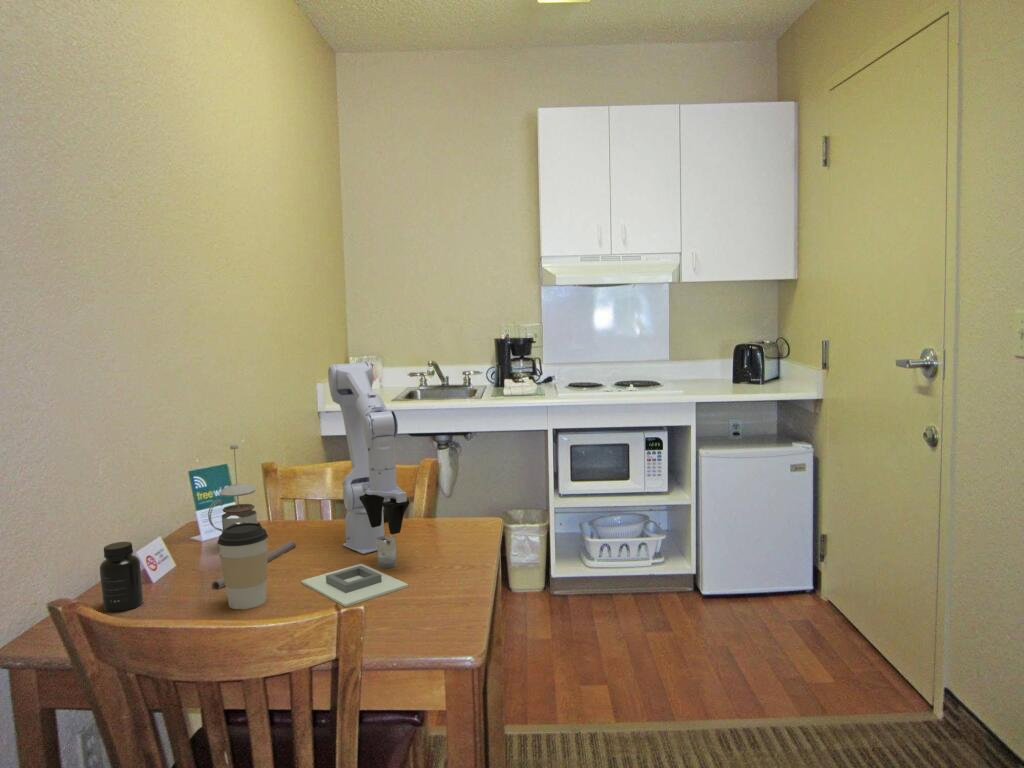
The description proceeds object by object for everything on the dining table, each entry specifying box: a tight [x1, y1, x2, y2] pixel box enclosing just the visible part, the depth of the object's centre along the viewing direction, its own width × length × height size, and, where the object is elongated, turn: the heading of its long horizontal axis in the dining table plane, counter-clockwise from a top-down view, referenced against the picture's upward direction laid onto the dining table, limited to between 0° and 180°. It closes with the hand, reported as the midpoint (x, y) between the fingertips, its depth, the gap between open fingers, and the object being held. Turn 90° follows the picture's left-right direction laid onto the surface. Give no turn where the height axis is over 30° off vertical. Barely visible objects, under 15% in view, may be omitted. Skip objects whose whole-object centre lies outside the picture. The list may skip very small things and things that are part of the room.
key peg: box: [376, 535, 397, 570], centre depth 161 cm, size 4×4×6 cm
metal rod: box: [211, 540, 296, 590], centre depth 163 cm, size 2×27×2 cm, turn 163°
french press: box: [207, 443, 258, 534], centre depth 175 cm, size 10×12×25 cm
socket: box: [300, 563, 409, 608], centre depth 150 cm, size 18×14×2 cm
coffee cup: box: [217, 522, 269, 611], centre depth 142 cm, size 9×9×15 cm
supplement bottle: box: [99, 541, 144, 613], centre depth 142 cm, size 7×7×12 cm
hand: (385, 529), depth 160 cm, fingers open, 7 cm apart
